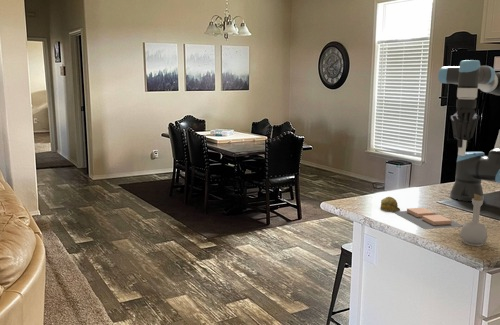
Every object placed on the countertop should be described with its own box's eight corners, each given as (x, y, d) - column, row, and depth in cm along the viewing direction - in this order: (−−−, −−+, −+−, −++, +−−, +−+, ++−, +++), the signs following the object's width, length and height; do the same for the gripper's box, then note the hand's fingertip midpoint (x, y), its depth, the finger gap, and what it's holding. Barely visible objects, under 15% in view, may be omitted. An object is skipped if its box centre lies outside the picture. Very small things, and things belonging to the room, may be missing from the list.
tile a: (423, 207, 203) (407, 208, 201) (434, 212, 195) (417, 213, 193) (423, 211, 203) (406, 212, 201) (434, 216, 195) (417, 217, 193)
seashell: (396, 221, 205) (405, 206, 206) (393, 214, 199) (402, 198, 201) (377, 212, 211) (386, 198, 213) (373, 205, 206) (382, 190, 207)
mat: (428, 211, 206) (428, 209, 206) (464, 227, 183) (464, 226, 183) (391, 213, 202) (391, 211, 202) (424, 230, 179) (424, 228, 179)
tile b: (439, 214, 192) (422, 215, 190) (451, 220, 184) (434, 221, 183) (438, 218, 192) (421, 219, 191) (451, 224, 185) (433, 225, 183)
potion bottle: (454, 239, 169) (459, 191, 166) (478, 238, 170) (483, 190, 167) (468, 247, 161) (473, 197, 158) (492, 247, 162) (498, 196, 158)
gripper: (473, 98, 196) (468, 153, 201) (446, 98, 193) (442, 154, 197) (486, 98, 189) (481, 156, 193) (458, 99, 186) (453, 157, 190)
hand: (461, 155), depth 195 cm, fingers closed
